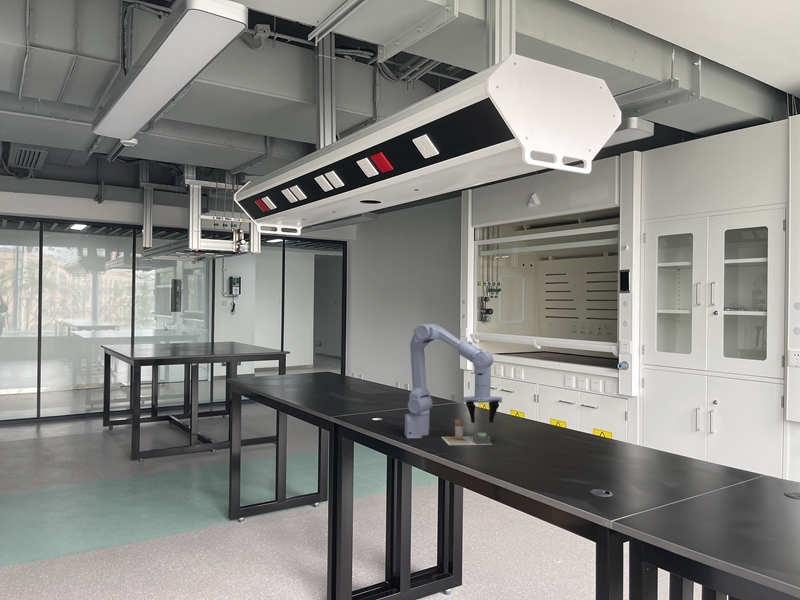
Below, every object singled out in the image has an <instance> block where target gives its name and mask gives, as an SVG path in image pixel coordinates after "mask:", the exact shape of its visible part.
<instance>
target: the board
mask: <svg viewBox="0 0 800 600" xmlns="http://www.w3.org/2000/svg"><path fill="white" fill-rule="evenodd" d="M441 439H442V440H443V441H444V442H445V443H446V444H447V446H476V445H477V446H478V445H479V446H482V445H484V446H486V445H488V446H491V445H493V444H492V443H491V442H490V444H476V443H475V442H474V441H473V436H463V440H456V439H455V436H441Z"/></svg>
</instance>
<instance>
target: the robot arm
mask: <svg viewBox="0 0 800 600" xmlns="http://www.w3.org/2000/svg"><path fill="white" fill-rule="evenodd" d="M435 340H440V341H443V342H444V343H446V344H448V345H449V346H451V347H453V348H454V349H456V350H457V353H458V355H460V356H462V357H463V358H464V359H466V360H468V361H469V362H471V363H472V365H473V366H474V368H475V369H474V395H472V396H471V395H470V396H462V403H463V404H465V405H466V408H467V410H468V412H469V416H470V422H471V423H472V424H475V423H476V422H475V421H476V419H475V417H476V416H475V414H476V413H475V412H476V407H477V406H476V404H478V403H481V404H482V403H488V409H489V410H488V411H489V416H488V417H489V418H488V421H489V422H490V423H493V422H494V417H495V415H496V413H497V411H498V409H499V407H500V404H502V403H503V397H502V396H491V385H492V384H491V383H492V382H491V379H492V378H491V376H492V373H491V372H492V371H491V370H492V368H491V367H492V365H493V364H494V357H493V355H492V354H491V353H490V352H489V351H484V350H483V348H482V347H481V348H479V347H477V346H475V345H474V344H473V341H471V340H464V341H462V340H460V339H459V338H458V337H456V336H454V335H453V334H452V333H450V332H449V331H448V330H446V329H444V328H443V327H442V326H439V325H438V324H436V323H420V324H418V325H417V326H416V327H415V328H414V329H413V335H412V337H411V340H410V342H409V343H410V344H409V348H410V349H409V350H410V351H409V352H410V364H411V380H412V381H411V382H412V390H411V391H410V393H409V394H408V395H409V399H408V401H407V408H408V411H409V412H410V413H406V414H405V415H404V433H403V434H404V436H405V437H406V439H424V437H423V436H428V435H430V411H431V410H432V408H433V399H432V397H431V392H430V390H429V389H428V387H427V372H426V359H425V358H426V356H425V348H426V347H427V346H428V345H429V344H430V343H431V342H433V341H435ZM475 403H476V404H475ZM499 403H500V404H499Z"/></svg>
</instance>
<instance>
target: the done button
mask: <svg viewBox="0 0 800 600" xmlns="http://www.w3.org/2000/svg"><path fill="white" fill-rule="evenodd" d="M476 435H477V437H486V435H487V432H481V431H479V432H477V433H476Z"/></svg>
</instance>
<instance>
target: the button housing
mask: <svg viewBox="0 0 800 600" xmlns="http://www.w3.org/2000/svg"><path fill="white" fill-rule="evenodd" d="M472 437H473V441H474V442H475V443H476V444H490V443H491V437H490V436H489V435H488V434H486V437H477V434H473V435H472Z"/></svg>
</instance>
